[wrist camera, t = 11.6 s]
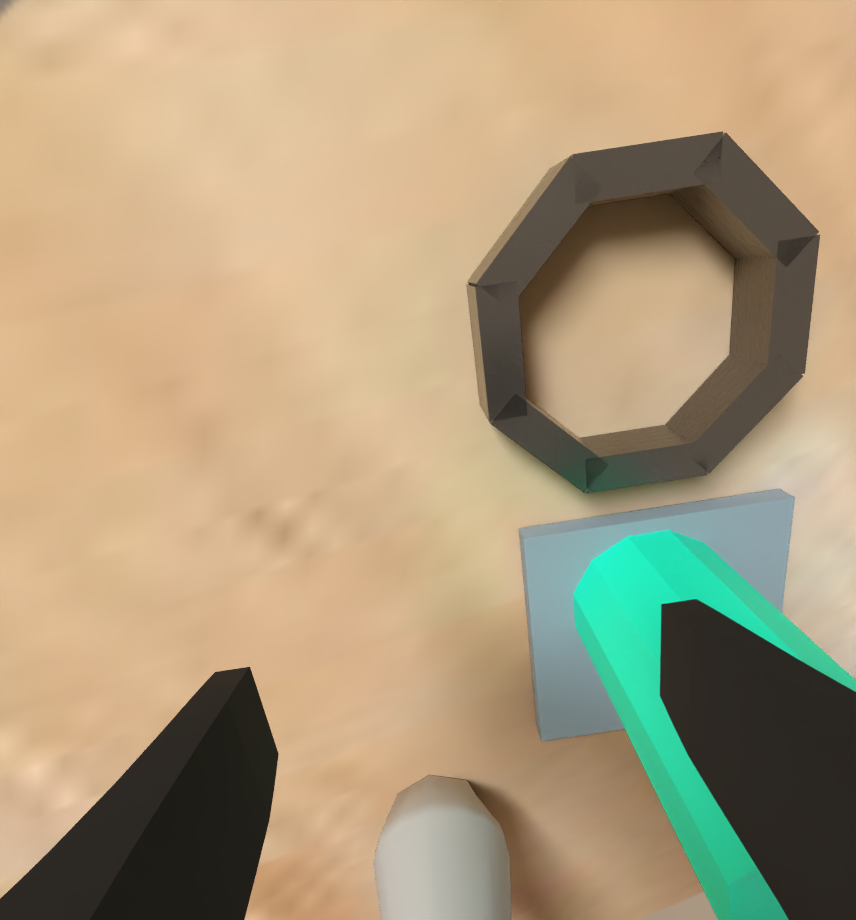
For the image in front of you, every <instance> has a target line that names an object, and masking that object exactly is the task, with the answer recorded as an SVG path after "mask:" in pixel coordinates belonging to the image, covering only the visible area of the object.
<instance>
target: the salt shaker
mask: <svg viewBox="0 0 856 920" xmlns="http://www.w3.org/2000/svg"><path fill="white" fill-rule="evenodd" d="M373 865H374V872H375V880H376V887H377V894H378V901H379V908H380V916H381V920H511V880H510V856H509V852H508V848H507V844H506V840H505V837H504V834H503V831H502V828H501V826H500V825H499V823H498V822H497V821H496V819H495V818H494V817H493V816H492V814H491V813H490V812H489V811H488V809H487V808H486V807H485V806H484V804H483V803H482V802H481V800H480V799H479V798H478V797H477V795H476V794H475V793H474V791H473V790H472V788H471V786H470V785H469V783H468V781H467V780H462V779H454V778H447V777H440V776H432V775H428V776H426V777H425V778H423V779H421V780H420V781H418V782H417V783H415V784H413V785H412V786H410V787H408V788H407V789H405V790H403V791H402V792H400V793H398V794H397V797H396V799H395V801H394V804H393V806H392V808H391V810H390V813H389V815H388V817H387V819H386V822H385V824H384V826H383V829H382V831H381V834H380V838H379V841H378V844H377V848H376V851H375V857H374V863H373Z"/></svg>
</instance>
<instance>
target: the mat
mask: <svg viewBox="0 0 856 920" xmlns="http://www.w3.org/2000/svg"><path fill="white" fill-rule="evenodd" d="M794 499H795V497H793V496H791V495H790V494H788V493H786V492H785V491H783V490H781V489H775V490H768V491H762V492H755V493H749V494H742V495H736V496H729V497H722V498H716V499H709V500H703V501H696V502H690V503H683V504H676V505H670V506H663V507H657V508H650V509H644V510H637V511H630V512H624V513H617V514H611V515H604V516H598V517H591V518H584V519H578V520H571V521H565V522H558V523H552V524H545V525H538V526H532V527H525V528H519V536H520V547H521V558H522V569H523V580H524V591H525V602H526V613H527V624H528V634H529V645H530V656H531V667H532V678H533V689H534V700H535V711H536V722H537V728H538V732H539V735H540V738H541V742H543V741H550V740H556V739H563V738H569V737H576V736H582V735H589V734H596V733H602V732H609V731H615V730H622V729H625V728H624V726H623V724H622V722H621V720H620V718H619V716H618V714H617V712H616V709H615V707H614V705H613V703H612V701H611V699H610V697H609V695H608V693H607V691H606V689H605V687H604V685H603V683H602V681H601V679H600V677H599V675H598V673H597V671H596V668H595V666H594V664H593V662H592V660H591V658H590V656H589V654H588V652H587V650H586V648H585V646H584V644H583V642H582V640H581V638H580V636H579V634H578V632H577V629H576V627H575V617H574V600H573V593H574V591H575V589H576V587H577V586H578V584H579V582H580V580H581V579H582V577H583V575H584V573H585V572H586V570H587V568H588V566H589V564H590V563H591V561H592V560H593V559H594V558H596V557H597V556H599V555H600V554H602V553H603V552H605V551H606V550H608V549H609V548H611V547H612V546H614V545H615V544H617V543H618V542H620V541H621V540H623V539H624V538H626V537H627V536H633V535H639V534H645V533H652V532H658V531H665V530H671V531H674V532H676V533H679V534H682V535H685V536H687V537H690V538H693V539H696V540H699V541H701V542H704V543H705V544H706V545H708V546H709V547H710V548H711V549H712V550H713V551H714V552H715V553H716V554H717V555H719V556H720V557H721V558H722V559H723V560H724V561H725V562H726V563H727V564H728V565H729V566H731V567H732V568H733V569H734V570H735V571H736V572H737V573H738V574H739V575H740V576H742V577H743V578H744V579H745V580H746V581H747V582H748V583H749V584H750V585H751V586H753V587H754V588H755V589H756V590H757V591H758V592H759V593H760V594H761V595H762V596H764V597H765V598H766V599H767V600H768V601H769V602H770V603H771V604H772V605H773V606H774V607H776V608H777V609H778V610H779V611H780V612H781V613H782V606H783V597H784V588H785V579H786V570H787V561H788V552H789V544H790V535H791V526H792V517H793V508H794Z"/></svg>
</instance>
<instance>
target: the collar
mask: <svg viewBox="0 0 856 920" xmlns="http://www.w3.org/2000/svg"><path fill="white" fill-rule="evenodd" d="M662 194H670V195H671V196H672V197H673V198H674V199H675V200H676V201H677V202H678V203H679V204H680V205H681V206H682V207H683V208H684V209H685V210H686V211H687V212H688V213H690V214H691V215H692V216H693V217H694V218H695V219H696V220H697V221H698V222H699V223H700V224H701V225H702V226H703V227H704V228H705V229H706V230H707V231H708V232H709V233H710V234H711V235H712V236H713V237H714V238H715V239H716V240H717V241H718V242H719V243H720V244H721V245H722V246H723V247H724V248H725V249H726V250H727V251H728V252H729V253H730V254H731V255H732V256H733V257H734V258H735V271H734V288H733V305H732V322H731V339H730V355H729V356H728V357H727V358H726V359H725V360H724V361H723V362H722V363H721V364H720V366H719V367H718V368H717V369H716V370H715V371H714V372H713V373H712V374H711V375H710V376H709V378H708V379H707V380H706V381H705V382H704V383H703V384H702V385H701V386H700V387H699V389H698V390H697V391H696V392H695V393H694V394H693V395H692V396H691V397H690V398H689V399H688V401H687V402H686V403H685V404H684V405H683V406H682V407H681V408H680V409H679V410H678V411H677V413H676V414H675V415H674V416H673V417H672V418H671V419H670V420H669V421H668V422H667V424H666V425H662V426H655V427H648V428H642V429H635V430H629V431H622V432H616V433H609V434H602V435H596V436H589V437H583V438H578V437H577V436H576V435H575V434H573V433H572V432H571V431H569V430H568V429H567V428H565V427H564V426H563V425H562V424H560V423H559V422H558V421H556V420H555V419H554V418H552V417H551V416H550V415H549V414H547V413H546V412H545V411H543V410H542V409H541V408H539V407H538V406H537V405H535V404H534V403H533V402H532V401H530V400H529V399H528V398H526V390H525V377H524V364H523V351H522V339H521V326H520V313H519V300H518V297H519V295H520V294H521V293H522V292H523V290H524V289H525V288H526V286H527V285H528V284H529V282H530V281H531V280H532V278H533V277H534V276H535V275H536V273H537V272H538V271H539V269H540V268H541V267H542V265H543V264H544V263H545V262H546V260H547V259H548V258H549V256H550V255H551V254H552V252H553V251H554V250H555V248H556V247H557V246H558V245H559V243H560V242H561V241H562V239H563V238H564V237H565V235H566V234H567V233H568V232H569V230H570V229H571V228H572V226H573V225H574V224H575V222H576V221H577V220H578V218H579V217H580V216H581V215H582V213H583V212H584V211H585V209H586V208H587V207H588V206H590V205H597V204H603V203H610V202H616V201H623V200H630V199H636V198H643V197H649V196H656V195H662ZM818 232H819V231H818V230H817V229H816V228H815V227H814V226H813V225H812V224H811V223H810V221H809V220H808V219H807V218H806V217H805V216H804V215H803V214H802V213H801V212H800V211H799V210H798V209H797V208H796V207H795V205H794V204H793V203H792V202H791V201H790V200H789V199H788V198H787V197H786V196H785V195H784V194H783V193H782V192H781V191H780V190H779V188H778V187H777V186H776V185H775V184H774V183H773V182H772V181H771V180H770V179H769V178H768V177H767V176H766V175H765V174H764V172H763V171H762V170H761V169H760V168H759V167H758V166H757V165H756V164H755V163H754V162H753V161H752V160H751V159H750V158H749V157H748V155H747V154H746V153H745V152H744V151H743V150H742V149H741V148H740V147H739V146H738V145H737V144H736V143H735V142H734V141H733V139H732V138H731V137H730V136H729V135H728V134H727V133H724V134H723V132H717V133H710V134H704V135H697V136H690V137H684V138H677V139H671V140H664V141H657V142H651V143H644V144H638V145H631V146H625V147H618V148H611V149H605V150H598V151H592V152H585V153H578V154H573V155H571V156H570V157H568V158H567V159H565V160H563V161H562V162H560V163H558V164H557V165H555V166H554V167H552V168H551V169H549V171H548V172H547V173H546V175H545V176H544V178H543V179H542V180H541V182H540V183H539V184H538V186H537V187H536V189H535V190H534V191H533V193H532V194H531V195H530V197H529V198H528V199H527V201H526V202H525V204H524V205H523V206H522V208H521V209H520V210H519V212H518V213H517V214H516V216H515V217H514V219H513V220H512V221H511V223H510V224H509V225H508V227H507V228H506V230H505V231H504V232H503V234H502V235H501V236H500V238H499V239H498V240H497V242H496V243H495V245H494V246H493V247H492V249H491V250H490V251H489V253H488V254H487V255H486V257H485V258H484V260H483V261H482V262H481V264H480V265H479V266H478V268H477V269H476V270H475V272H474V273H473V275H472V276H471V277H470V279H469V280H468V281H467V282H469V283H470V284H467V293H468V302H469V311H470V320H471V329H472V338H473V347H474V356H475V365H476V374H477V383H478V392H479V401H480V406H481V408H482V410H483V411H484V413H485V415H486V417H487V418H488V420H489V422H490V423H491V424H492V425H493V426H494V427H496V428H497V429H498V430H500V431H501V432H503V433H504V434H505V435H507V436H508V437H509V438H511V439H512V440H513V441H515V442H516V443H518V444H519V445H520V446H522V447H523V448H524V449H526V450H527V451H528V452H530V453H531V454H533V455H534V456H535V457H537V458H538V459H539V460H541V461H542V462H543V463H545V464H546V465H547V466H549V467H550V468H552V469H553V470H554V471H556V472H557V473H558V474H560V475H561V476H562V477H564V478H565V479H567V480H568V481H569V482H571V483H572V484H573V485H575V486H576V487H577V488H579V489H580V490H581V491H583V492H586V493H590V492H596V491H603V490H610V489H616V488H623V487H629V486H636V485H642V484H649V483H656V482H662V481H669V480H675V479H682V478H688V477H695V476H702V475H707V472H708V473H710V472H711V471H712V470H713V469H714V468H715V467H716V466H717V465H718V464H719V463H720V462H721V461H722V460H723V459H724V458H725V457H726V456H727V454H728V453H729V452H730V451H731V450H732V449H733V448H734V447H735V446H736V445H737V444H738V443H739V442H740V441H741V440H742V439H743V438H744V437H745V436H746V435H747V434H748V433H749V432H750V431H751V430H752V429H753V428H754V427H755V426H756V425H757V424H758V422H759V421H760V420H761V419H762V418H763V417H764V416H765V415H766V414H767V413H768V412H769V411H770V410H771V409H772V408H773V407H774V406H775V405H776V404H777V403H778V402H779V401H780V400H781V399H782V398H783V397H784V396H785V395H786V394H787V393H788V391H789V390H790V389H791V388H792V387H793V386H794V385H795V384H796V383H797V382H798V381H799V380H800V379H801V378H802V377H803V375H801V374H804V373H805V366H806V357H807V348H808V339H809V330H810V321H811V312H812V303H813V294H814V285H815V276H816V266H817V257H818V248H819V239H820V235H817V233H818Z"/></svg>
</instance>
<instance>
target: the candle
mask: <svg viewBox="0 0 856 920" xmlns="http://www.w3.org/2000/svg"><path fill="white" fill-rule="evenodd" d="M692 599H697V600H699V601H701V602H703V603H705V604H706V605H708V606H710V607H712V608H713V609H715V610H717V611H718V612H720V613H722V614H724V615H725V616H727V617H729V618H730V619H732V620H734V621H735V622H737V623H739V624H740V625H742V626H744V627H745V628H747V629H749V630H750V631H752V632H754V633H755V634H757V635H759V636H760V637H762V638H764V639H765V640H767V641H769V642H770V643H772V644H774V645H775V646H777V647H779V648H780V649H782V650H784V651H785V652H787V653H789V654H790V655H792V656H794V657H795V658H797V659H799V660H801V661H802V662H804V663H806V664H807V665H809V666H811V667H813V668H814V669H816V670H818V671H820V672H821V673H823V674H825V675H827V676H828V677H830V678H832V679H834V680H835V681H837V682H839V683H841V684H843V685H844V686H846V687H848V688H850V689H852V690H853V691H855V692H856V680H855V679H854V678H852V677H851V676H850V675H849V674H848V673H847V672H846V671H845V670H844V669H843V668H841V667H840V666H839V665H838V664H837V663H836V662H835V661H834V660H833V659H832V658H830V657H829V656H828V655H827V654H826V653H825V652H824V651H823V650H822V649H821V648H819V647H818V646H817V645H816V644H815V643H814V642H813V641H812V640H811V639H810V638H809V637H807V636H806V635H805V634H804V633H803V632H802V631H801V630H800V629H799V628H798V627H796V626H795V625H794V624H793V623H792V622H791V621H790V620H789V619H788V618H787V617H785V616H784V615H783V614H782V613H781V612H780V611H779V610H778V609H777V608H776V607H774V606H773V605H772V604H771V603H770V602H769V601H768V600H767V599H766V598H765V597H764V596H762V595H761V594H760V593H759V592H758V591H757V590H756V589H755V588H754V587H753V586H751V585H750V584H749V583H748V582H747V581H746V580H745V579H744V578H743V577H742V576H740V575H739V574H738V573H737V572H736V571H735V570H734V569H733V568H732V567H731V566H729V565H728V564H727V563H726V562H725V561H724V560H723V559H722V558H721V557H720V556H719V555H717V554H716V553H715V552H714V551H713V550H712V549H711V548H710V547H709V546H708V545H706V544H705V543H704V542H701V541H699V540H696V539H693V538H690V537H687V536H685V535H682V534H679V533H676V532H674V531H671V530H665V531H658V532H652V533H645V534H639V535H633V536H627V537H626V538H624V539H623V540H621V541H620V542H618V543H617V544H615V545H614V546H612V547H611V548H609V549H608V550H606V551H605V552H603V553H602V554H600V555H599V556H597V557H596V558H594V559H593V560H592V561H591V563H590V564H589V566H588V568H587V570H586V572H585V573H584V575H583V577H582V579H581V580H580V582H579V584H578V586H577V587H576V589H575V591H574V593H573V600H574V617H575V627H576V629H577V632H578V634H579V636H580V638H581V640H582V642H583V644H584V646H585V648H586V650H587V652H588V654H589V656H590V658H591V660H592V662H593V664H594V666H595V668H596V671H597V673H598V675H599V677H600V679H601V681H602V683H603V685H604V687H605V689H606V691H607V693H608V695H609V697H610V699H611V701H612V703H613V705H614V707H615V709H616V712H617V714H618V716H619V718H620V720H621V722H622V724H623V726H624V728H625V730H626V732H627V734H628V736H629V738H630V740H631V742H632V744H633V746H634V748H635V750H636V753H637V755H638V757H639V759H640V761H641V763H642V765H643V767H644V769H645V771H646V773H647V775H648V777H649V779H650V781H651V783H652V785H653V787H654V789H655V791H656V794H657V796H658V798H659V800H660V802H661V804H662V806H663V808H664V810H665V812H666V814H667V816H668V818H669V820H670V822H671V824H672V826H673V828H674V830H675V832H676V835H677V837H678V839H679V841H680V843H681V845H682V847H683V849H684V851H685V853H686V855H687V857H688V859H689V861H690V863H691V865H692V867H693V869H694V871H695V874H696V876H697V878H698V880H699V882H700V884H701V886H702V888H703V890H704V892H705V894H706V896H707V898H708V900H709V902H710V904H711V906H712V908H713V910H714V912H715V915H716V916H717V919H718V920H789V919H788V918H787V916H786V914H785V912H784V911H783V909H782V907H781V906H780V904H779V902H778V901H777V899H776V897H775V896H774V894H773V892H772V891H771V889H770V888H769V886H768V884H767V883H766V881H765V880H764V878H763V876H762V875H761V873H760V871H759V870H758V868H757V867H756V865H755V863H754V862H753V860H752V859H751V857H750V855H749V854H748V852H747V851H746V849H745V847H744V846H743V844H742V842H741V841H740V839H739V838H738V836H737V834H736V833H735V831H734V830H733V828H732V826H731V825H730V823H729V822H728V820H727V818H726V817H725V815H724V813H723V812H722V810H721V809H720V807H719V805H718V804H717V802H716V801H715V799H714V797H713V796H712V794H711V792H710V791H709V789H708V787H707V786H706V784H705V783H704V781H703V779H702V778H701V776H700V774H699V773H698V771H697V769H696V768H695V766H694V764H693V763H692V761H691V759H690V758H689V756H688V754H687V752H686V750H685V748H684V746H683V744H682V742H681V740H680V738H679V736H678V734H677V732H676V730H675V728H674V726H673V723H672V721H671V719H670V717H669V715H668V712H667V710H666V708H665V706H664V704H663V702H662V699H661V697H660V655H661V604H666V603H673V602H679V601H686V600H692Z"/></svg>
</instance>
